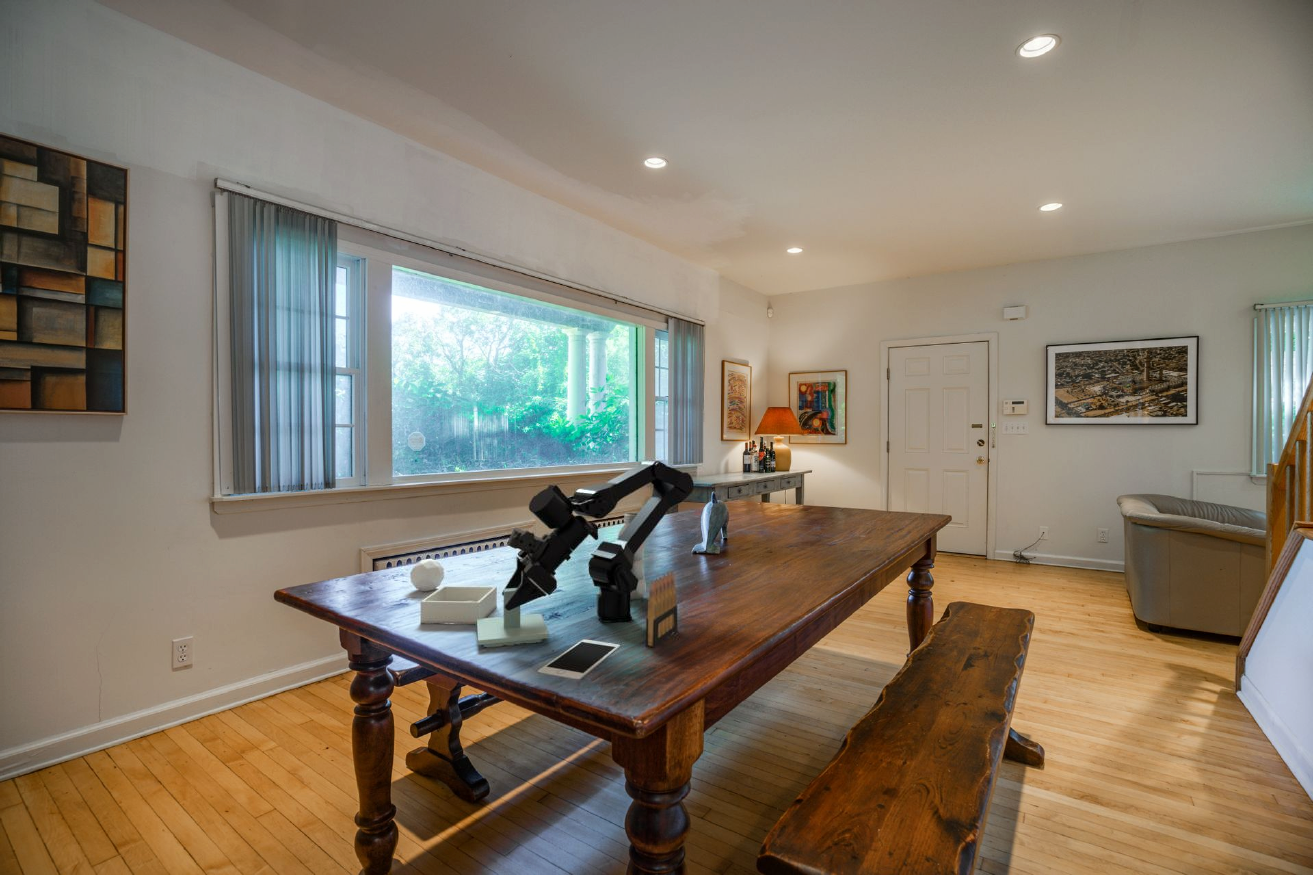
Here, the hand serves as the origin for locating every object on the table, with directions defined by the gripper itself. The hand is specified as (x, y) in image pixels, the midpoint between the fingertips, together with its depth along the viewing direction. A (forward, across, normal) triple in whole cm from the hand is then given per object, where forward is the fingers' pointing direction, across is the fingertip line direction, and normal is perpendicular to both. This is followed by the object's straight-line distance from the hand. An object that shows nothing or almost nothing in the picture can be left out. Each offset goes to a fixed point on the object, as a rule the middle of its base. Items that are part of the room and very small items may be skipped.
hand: (504, 602), depth 112 cm
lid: (+4, 0, +6) cm, 7 cm away
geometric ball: (+16, -39, -7) cm, 43 cm away
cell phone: (-4, +15, +14) cm, 21 cm away
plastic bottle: (-16, -18, +26) cm, 35 cm away
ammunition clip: (-15, +9, +25) cm, 31 cm away
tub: (+10, -16, -1) cm, 19 cm away
